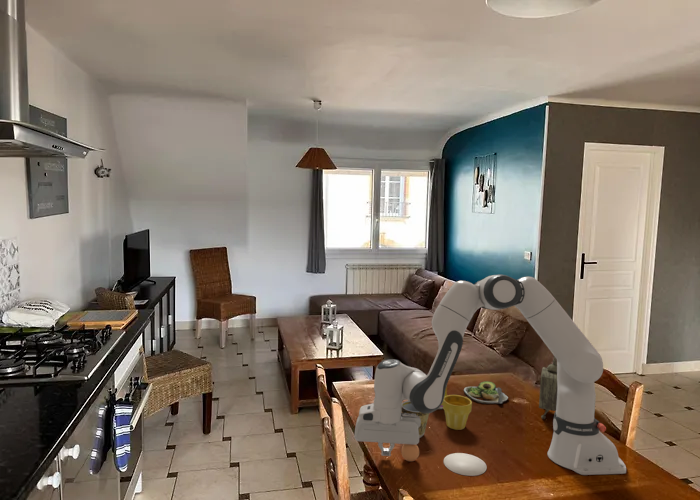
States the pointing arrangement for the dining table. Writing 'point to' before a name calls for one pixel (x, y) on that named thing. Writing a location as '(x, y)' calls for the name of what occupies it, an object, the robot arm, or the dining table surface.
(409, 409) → the ceramic cup
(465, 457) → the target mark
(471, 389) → the avocado toast plate
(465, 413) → the plant pot
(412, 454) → the ball
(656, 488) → the dining table surface
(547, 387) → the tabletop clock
